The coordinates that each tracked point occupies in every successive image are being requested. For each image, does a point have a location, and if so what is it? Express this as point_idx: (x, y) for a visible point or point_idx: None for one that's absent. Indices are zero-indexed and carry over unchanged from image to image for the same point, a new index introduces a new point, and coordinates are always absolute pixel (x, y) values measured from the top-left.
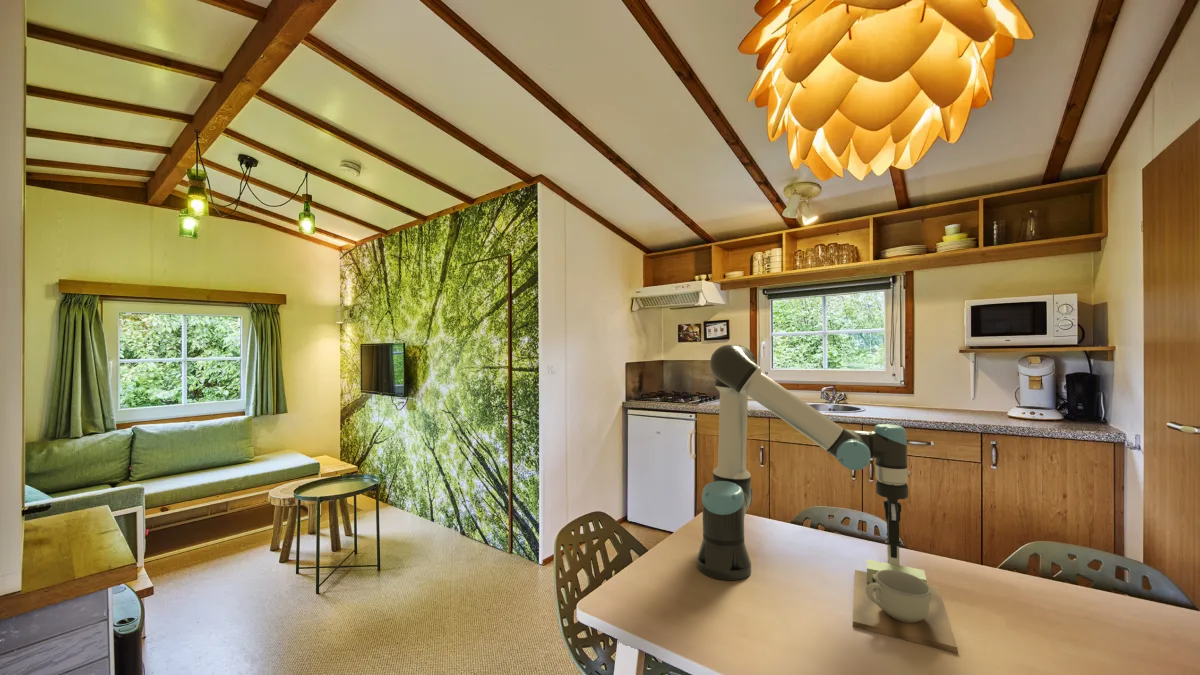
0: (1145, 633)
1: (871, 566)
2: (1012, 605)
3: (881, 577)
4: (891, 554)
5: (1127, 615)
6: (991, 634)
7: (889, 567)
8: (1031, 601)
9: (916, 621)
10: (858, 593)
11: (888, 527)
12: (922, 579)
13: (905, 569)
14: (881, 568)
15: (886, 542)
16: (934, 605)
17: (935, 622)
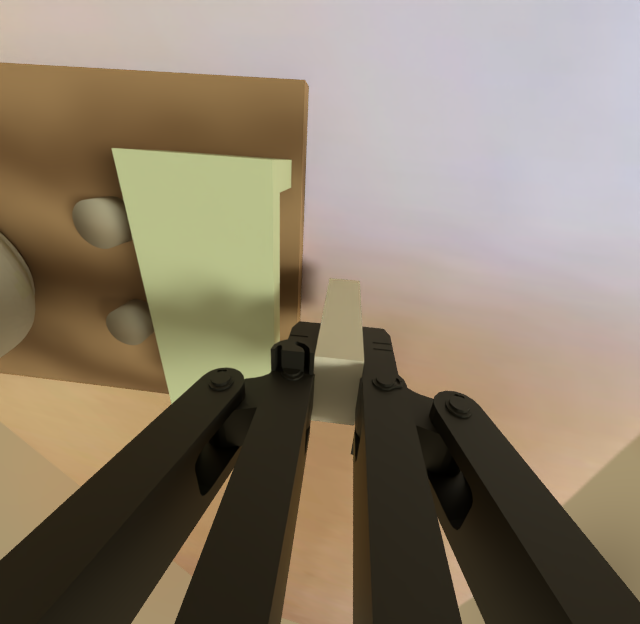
0: (291, 601)
1: (162, 183)
2: (299, 508)
3: None
4: (291, 335)
5: (349, 611)
6: (116, 437)
7: (216, 288)
8: (341, 539)
9: None
10: (10, 91)
11: (27, 582)
12: (169, 394)
13: (236, 355)
14: (173, 242)
15: (283, 358)
16: (139, 369)
17: (25, 348)
